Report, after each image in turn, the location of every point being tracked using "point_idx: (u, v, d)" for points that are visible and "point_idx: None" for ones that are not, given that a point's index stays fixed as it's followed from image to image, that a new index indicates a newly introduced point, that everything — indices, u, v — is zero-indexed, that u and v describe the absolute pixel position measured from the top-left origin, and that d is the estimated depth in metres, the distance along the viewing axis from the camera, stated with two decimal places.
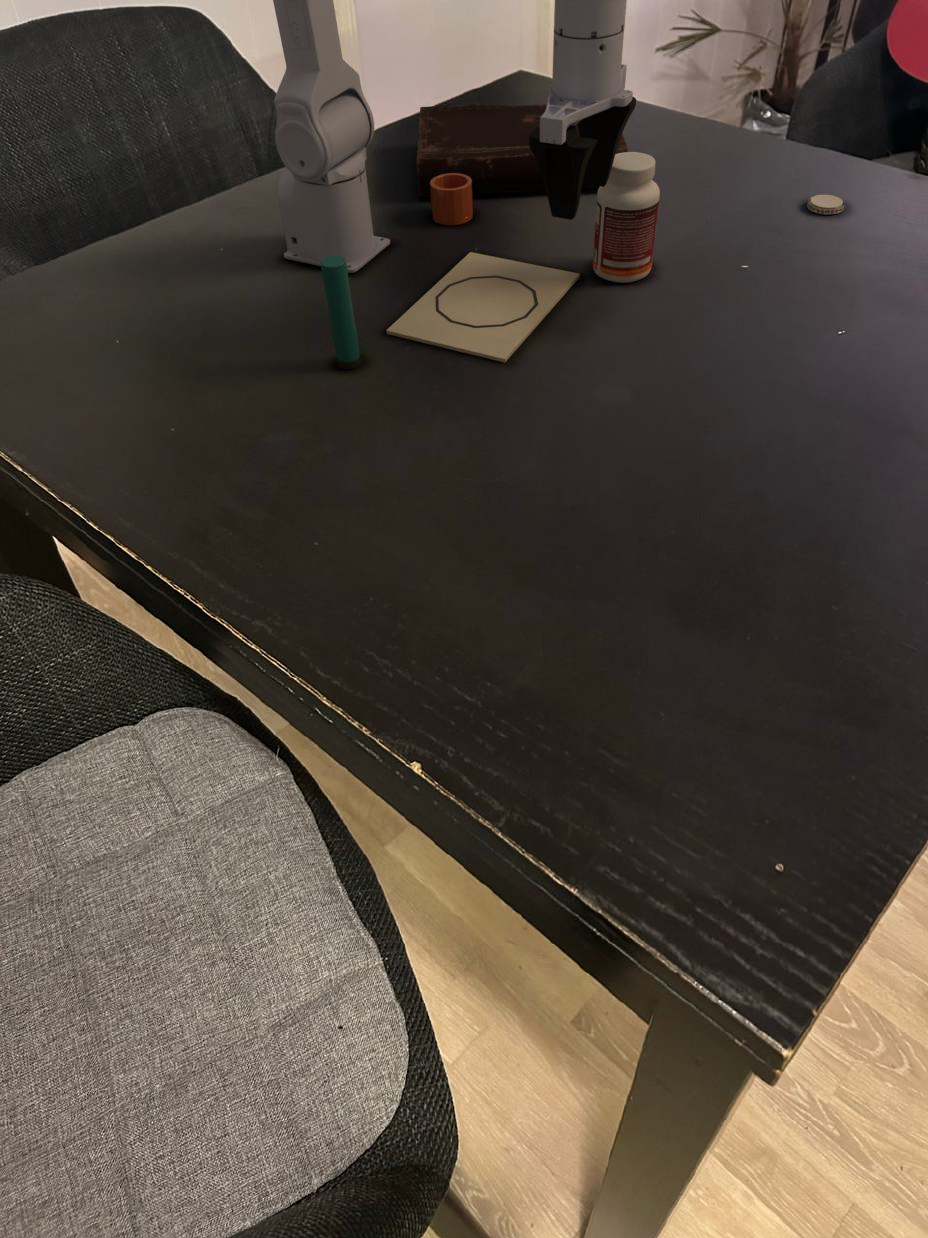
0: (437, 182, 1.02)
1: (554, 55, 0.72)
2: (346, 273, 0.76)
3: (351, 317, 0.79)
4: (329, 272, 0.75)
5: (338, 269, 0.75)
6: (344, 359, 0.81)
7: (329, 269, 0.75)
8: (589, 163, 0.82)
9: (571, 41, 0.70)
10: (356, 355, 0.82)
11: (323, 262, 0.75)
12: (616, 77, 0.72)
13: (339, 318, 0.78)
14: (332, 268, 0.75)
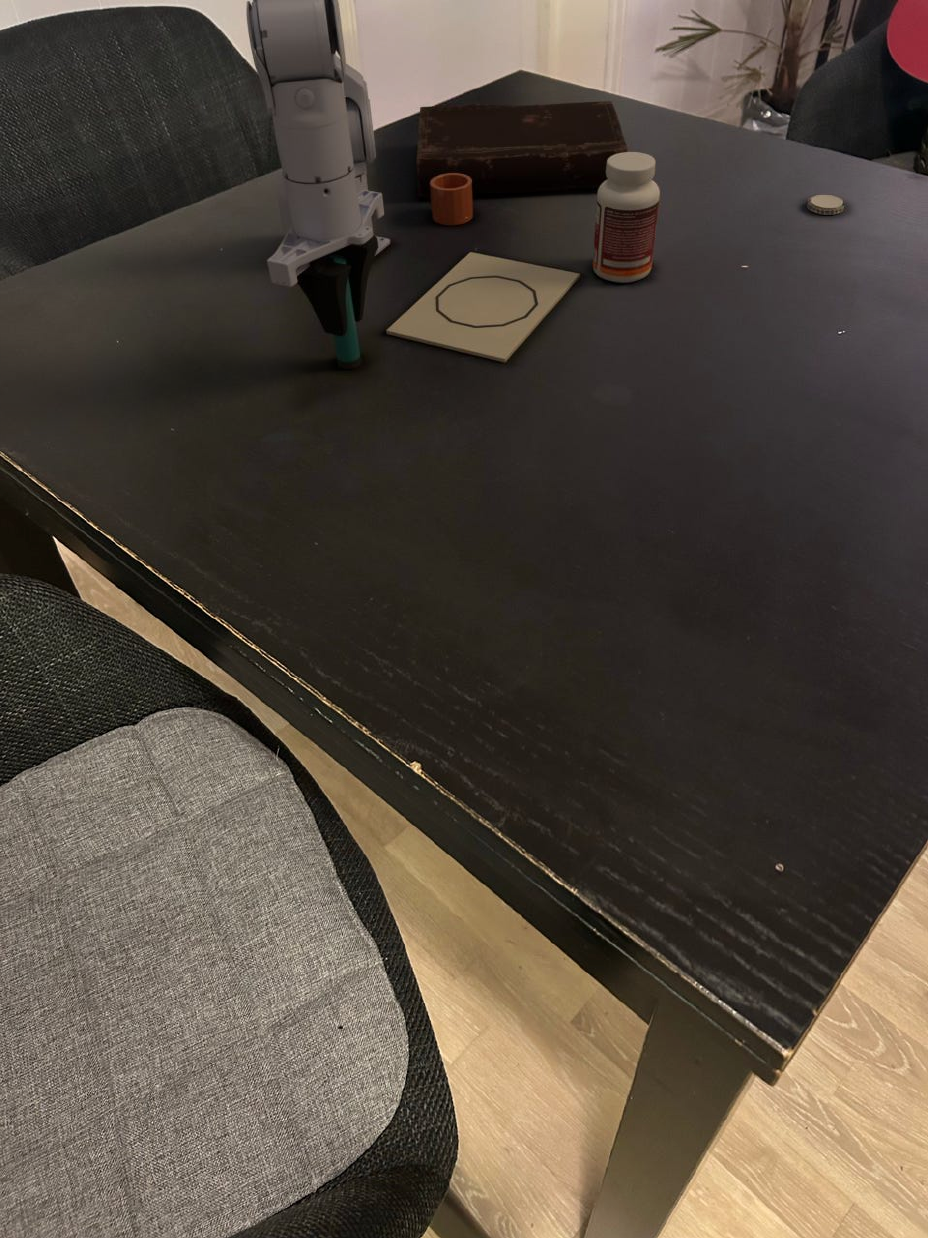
0: (437, 182, 1.02)
1: None
2: None
3: (352, 317, 0.79)
4: None
5: None
6: (344, 359, 0.81)
7: None
8: None
9: (295, 185, 0.69)
10: (356, 355, 0.82)
11: None
12: (350, 217, 0.71)
13: None
14: None
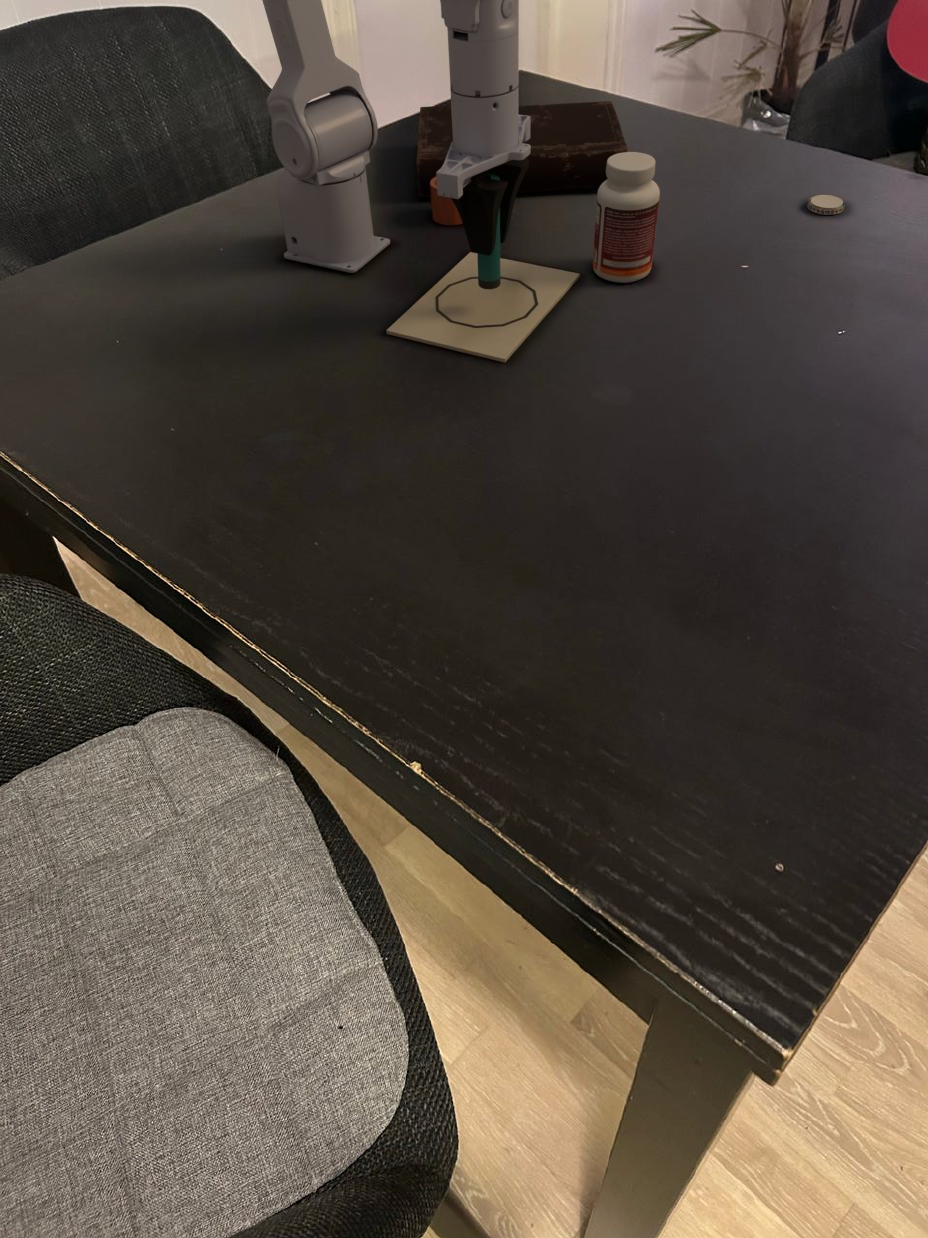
0: None
1: (451, 110, 0.74)
2: None
3: (498, 236, 0.82)
4: None
5: None
6: (487, 279, 0.84)
7: None
8: None
9: (465, 99, 0.72)
10: (498, 275, 0.85)
11: None
12: (512, 132, 0.74)
13: None
14: None
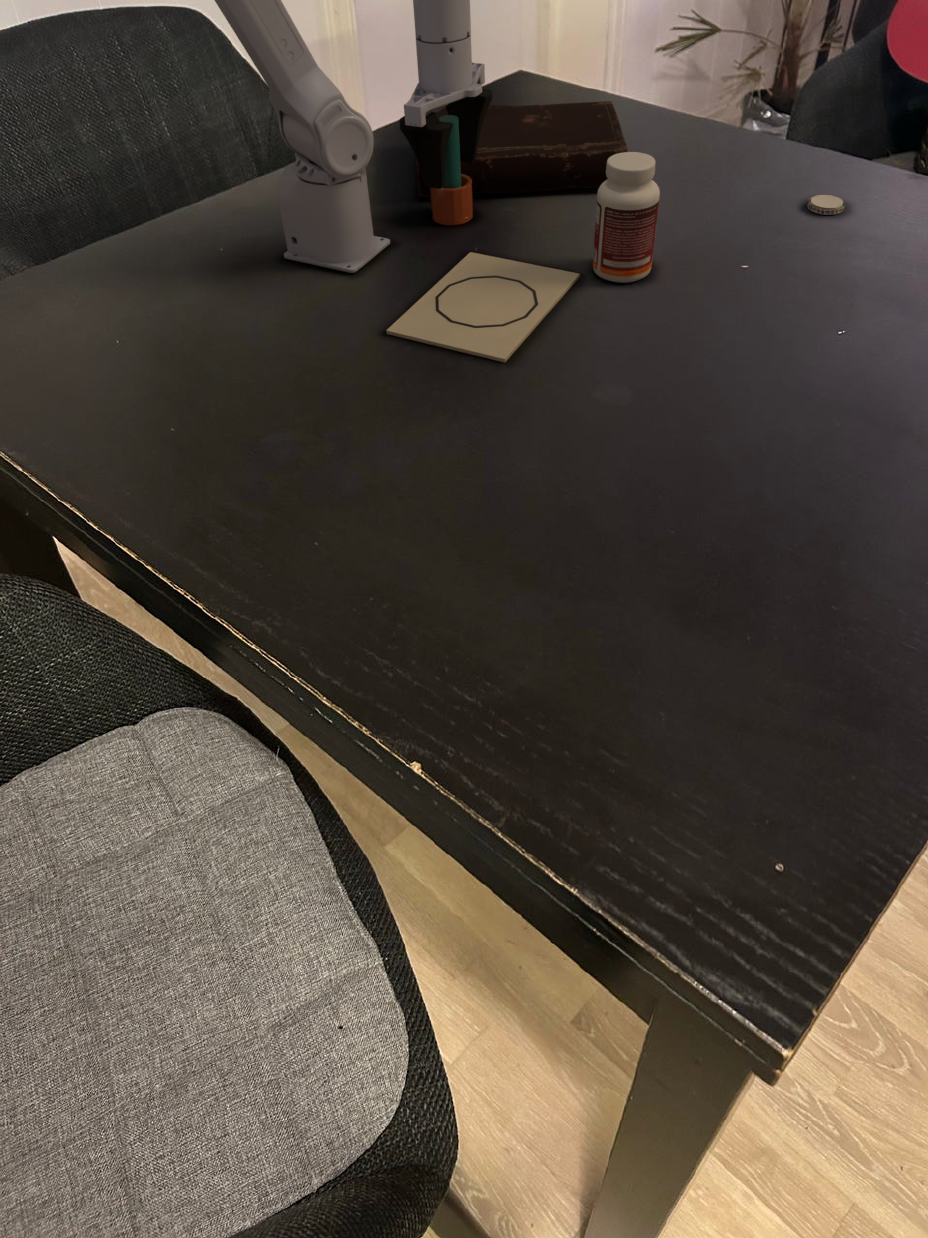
0: None
1: (417, 56, 0.91)
2: (458, 129, 0.96)
3: (459, 168, 0.99)
4: None
5: (453, 124, 0.95)
6: None
7: None
8: None
9: (427, 45, 0.88)
10: None
11: (440, 119, 0.95)
12: (466, 74, 0.91)
13: (449, 168, 0.98)
14: None
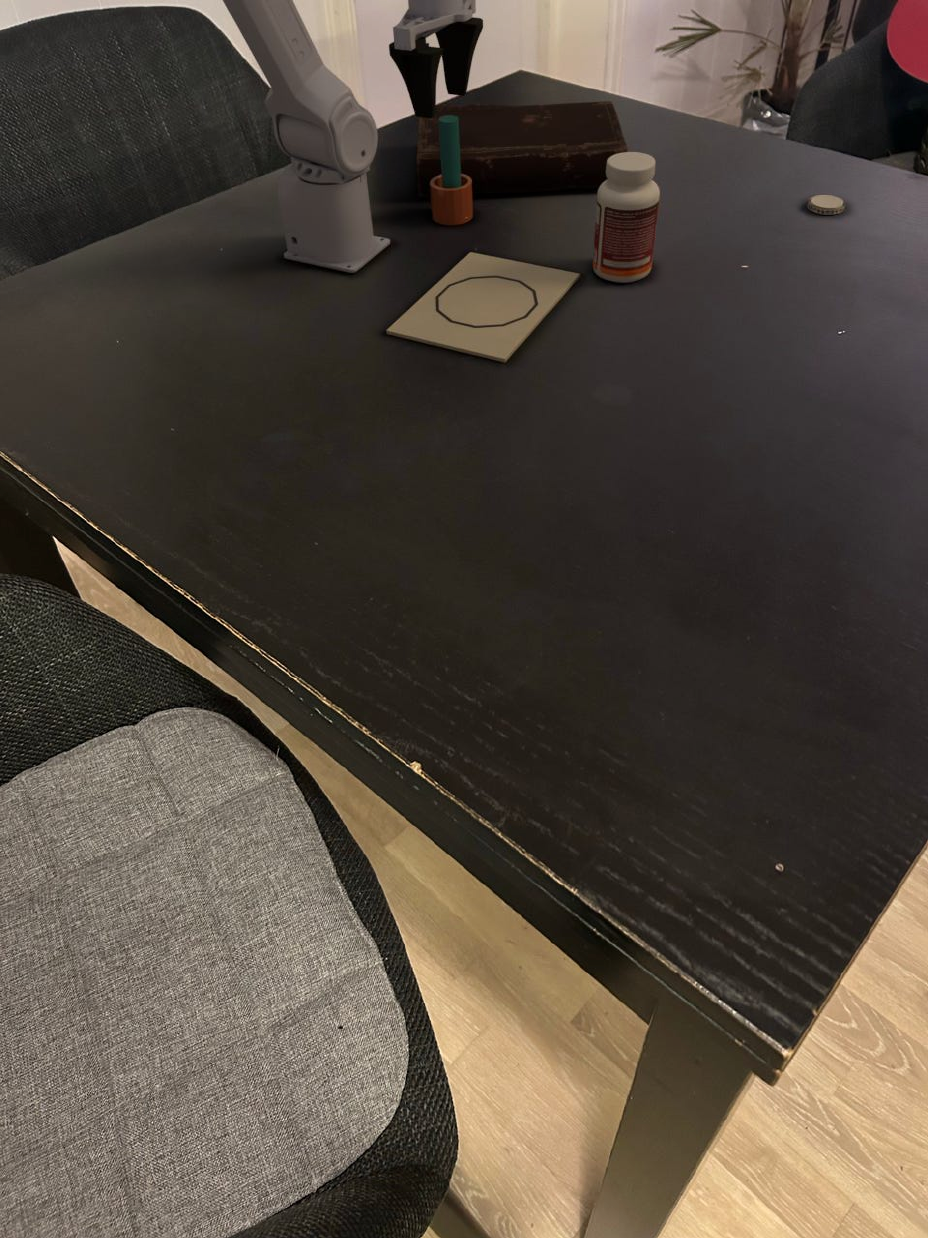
0: (437, 182, 1.02)
1: None
2: (458, 129, 0.96)
3: (459, 168, 0.99)
4: (445, 127, 0.95)
5: (453, 124, 0.95)
6: None
7: (446, 124, 0.95)
8: (450, 75, 1.00)
9: None
10: None
11: (440, 119, 0.95)
12: None
13: (449, 168, 0.98)
14: (448, 123, 0.95)
